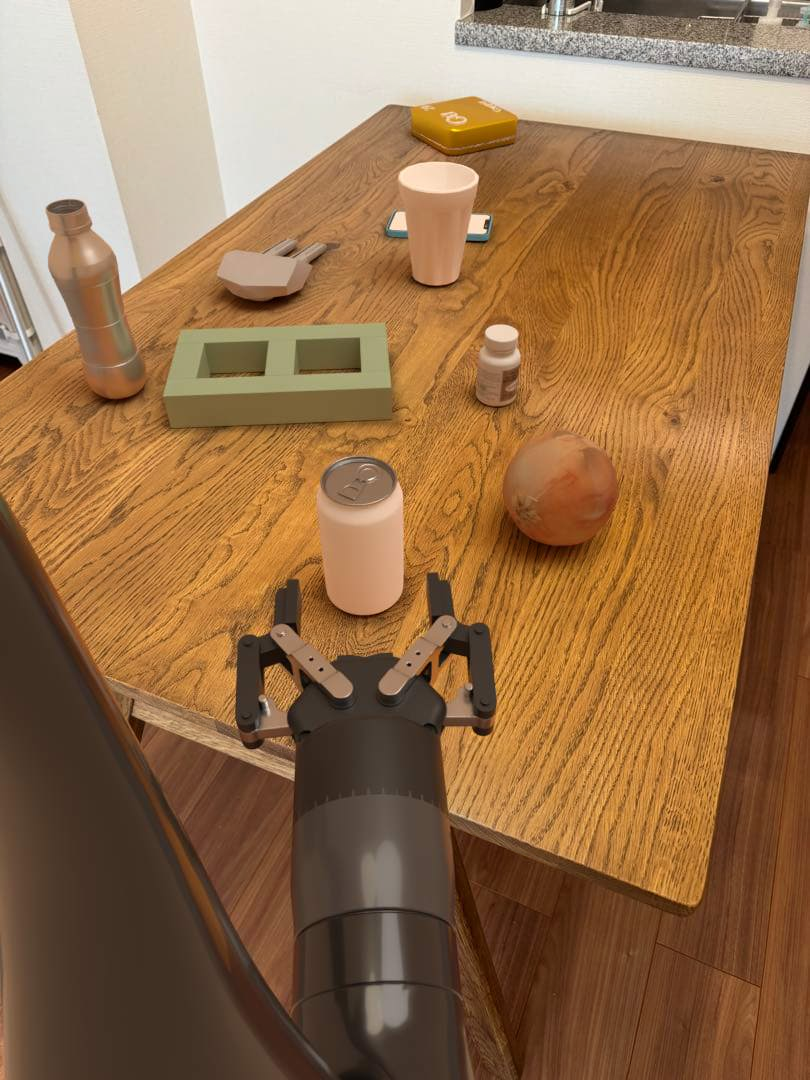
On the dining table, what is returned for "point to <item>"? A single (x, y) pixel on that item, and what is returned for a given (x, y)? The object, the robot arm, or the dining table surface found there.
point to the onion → (560, 488)
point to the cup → (437, 217)
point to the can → (361, 534)
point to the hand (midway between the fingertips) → (363, 584)
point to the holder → (279, 375)
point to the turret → (268, 270)
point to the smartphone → (476, 232)
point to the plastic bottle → (94, 301)
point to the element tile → (463, 124)
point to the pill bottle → (498, 366)
